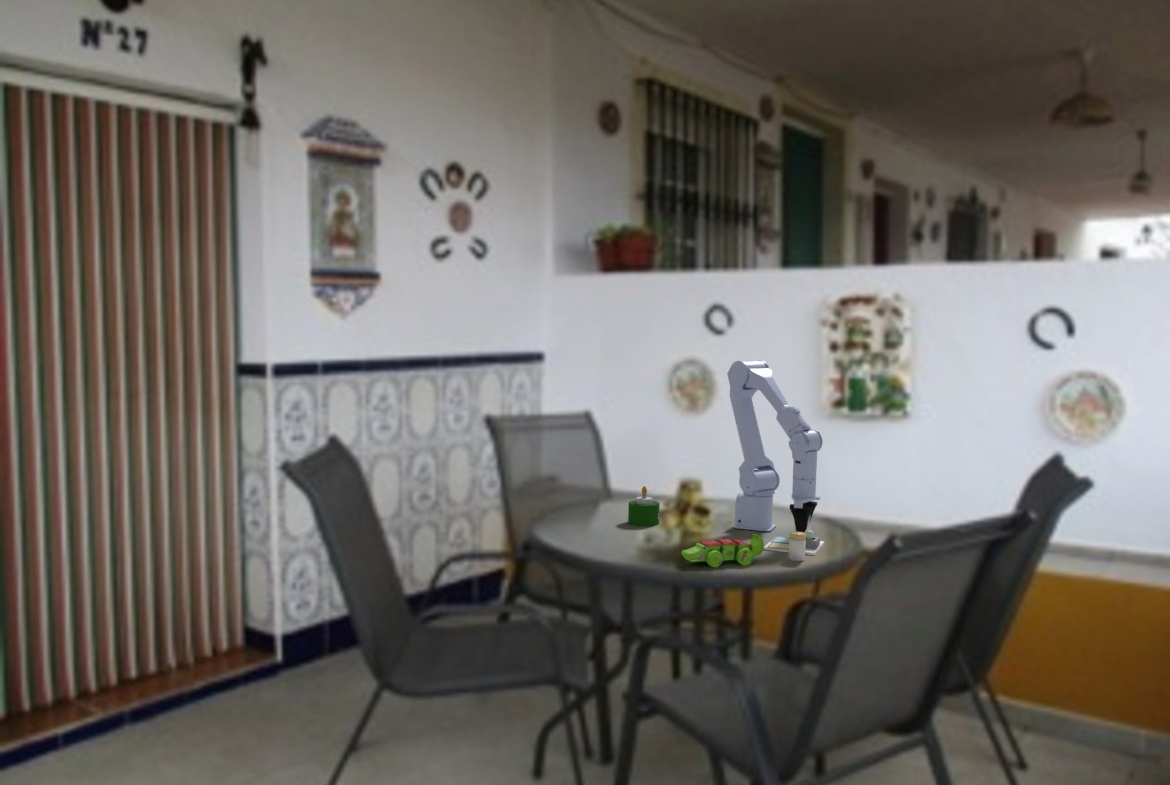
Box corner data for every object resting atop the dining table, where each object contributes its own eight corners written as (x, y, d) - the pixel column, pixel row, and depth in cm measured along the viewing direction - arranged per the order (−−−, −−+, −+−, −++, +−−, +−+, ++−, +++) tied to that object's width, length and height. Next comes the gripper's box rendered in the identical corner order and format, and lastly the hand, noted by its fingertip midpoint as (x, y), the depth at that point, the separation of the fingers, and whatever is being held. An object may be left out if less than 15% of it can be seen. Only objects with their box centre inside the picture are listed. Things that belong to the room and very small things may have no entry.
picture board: (763, 549, 237) (764, 539, 237) (775, 538, 249) (776, 528, 249) (814, 555, 233) (814, 544, 232) (824, 543, 245) (824, 533, 244)
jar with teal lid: (793, 538, 249) (794, 515, 249) (796, 535, 253) (797, 512, 252) (808, 540, 248) (809, 516, 247) (811, 537, 251) (812, 513, 251)
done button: (803, 540, 238) (804, 531, 238) (805, 538, 240) (805, 529, 240) (812, 541, 237) (812, 532, 237) (813, 539, 239) (814, 530, 239)
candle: (657, 520, 270) (658, 483, 269) (660, 526, 262) (661, 489, 261) (627, 519, 270) (627, 483, 269) (629, 526, 261) (630, 488, 261)
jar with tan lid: (787, 560, 228) (788, 534, 227) (790, 556, 231) (791, 531, 231) (803, 561, 226) (804, 535, 226) (806, 558, 230) (807, 532, 229)
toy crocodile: (688, 569, 218) (689, 542, 218) (677, 562, 225) (677, 535, 224) (769, 564, 224) (770, 537, 224) (756, 557, 230) (756, 531, 230)
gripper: (815, 483, 241) (813, 539, 242) (825, 475, 254) (823, 527, 255) (786, 481, 243) (784, 536, 245) (798, 473, 257) (796, 525, 258)
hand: (802, 531), depth 250 cm, fingers closed on jar with teal lid, 4 cm apart
